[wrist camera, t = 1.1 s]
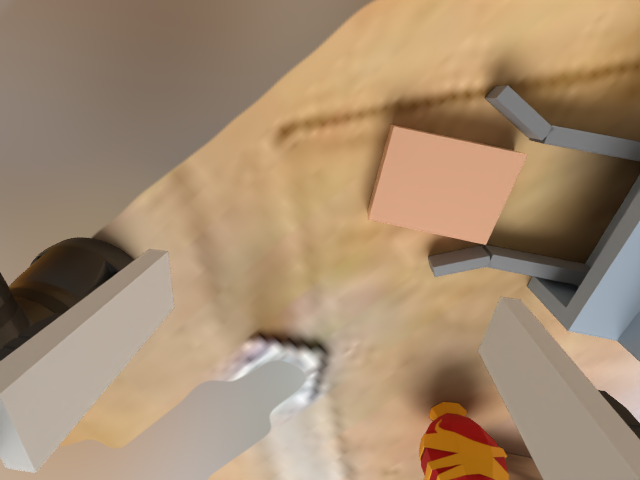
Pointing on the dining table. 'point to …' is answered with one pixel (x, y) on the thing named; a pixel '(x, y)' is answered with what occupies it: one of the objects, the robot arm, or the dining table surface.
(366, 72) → the dining table surface
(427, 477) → the potion bottle
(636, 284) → the grey docking fixture
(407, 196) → the terracotta tile
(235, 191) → the dining table surface
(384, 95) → the dining table surface
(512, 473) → the walnut display tray
